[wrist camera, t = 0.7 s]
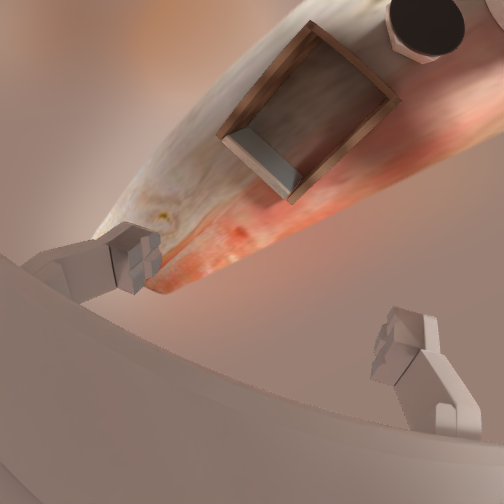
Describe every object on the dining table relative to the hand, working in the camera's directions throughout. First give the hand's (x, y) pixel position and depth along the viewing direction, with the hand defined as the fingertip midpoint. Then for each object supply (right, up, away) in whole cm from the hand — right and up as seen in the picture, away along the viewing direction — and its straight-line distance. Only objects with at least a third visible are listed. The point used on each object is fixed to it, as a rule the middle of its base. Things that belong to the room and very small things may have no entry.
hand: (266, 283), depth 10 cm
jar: (+21, +30, +20) cm, 42 cm away
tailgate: (+3, +16, +38) cm, 41 cm away
